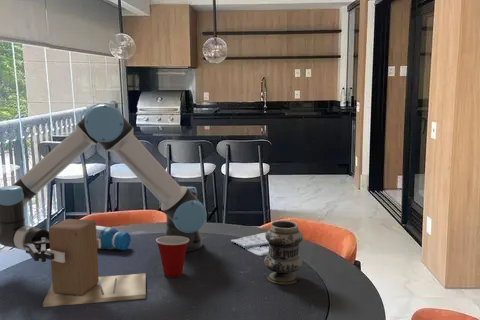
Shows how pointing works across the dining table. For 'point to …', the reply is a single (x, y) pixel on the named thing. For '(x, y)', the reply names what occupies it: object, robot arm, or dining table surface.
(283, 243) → the apothecary jar
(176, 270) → the plastic cup
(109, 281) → the board
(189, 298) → the dining table surface
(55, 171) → the robot arm
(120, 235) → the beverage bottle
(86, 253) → the wooden block
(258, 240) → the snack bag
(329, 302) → the dining table surface
